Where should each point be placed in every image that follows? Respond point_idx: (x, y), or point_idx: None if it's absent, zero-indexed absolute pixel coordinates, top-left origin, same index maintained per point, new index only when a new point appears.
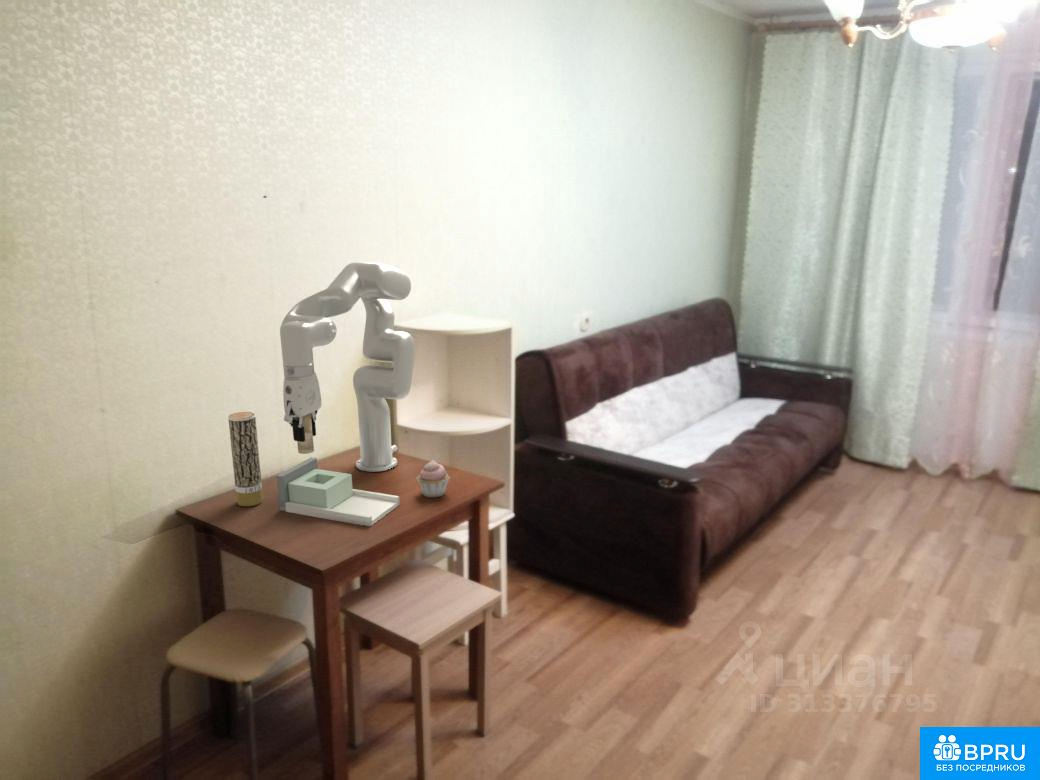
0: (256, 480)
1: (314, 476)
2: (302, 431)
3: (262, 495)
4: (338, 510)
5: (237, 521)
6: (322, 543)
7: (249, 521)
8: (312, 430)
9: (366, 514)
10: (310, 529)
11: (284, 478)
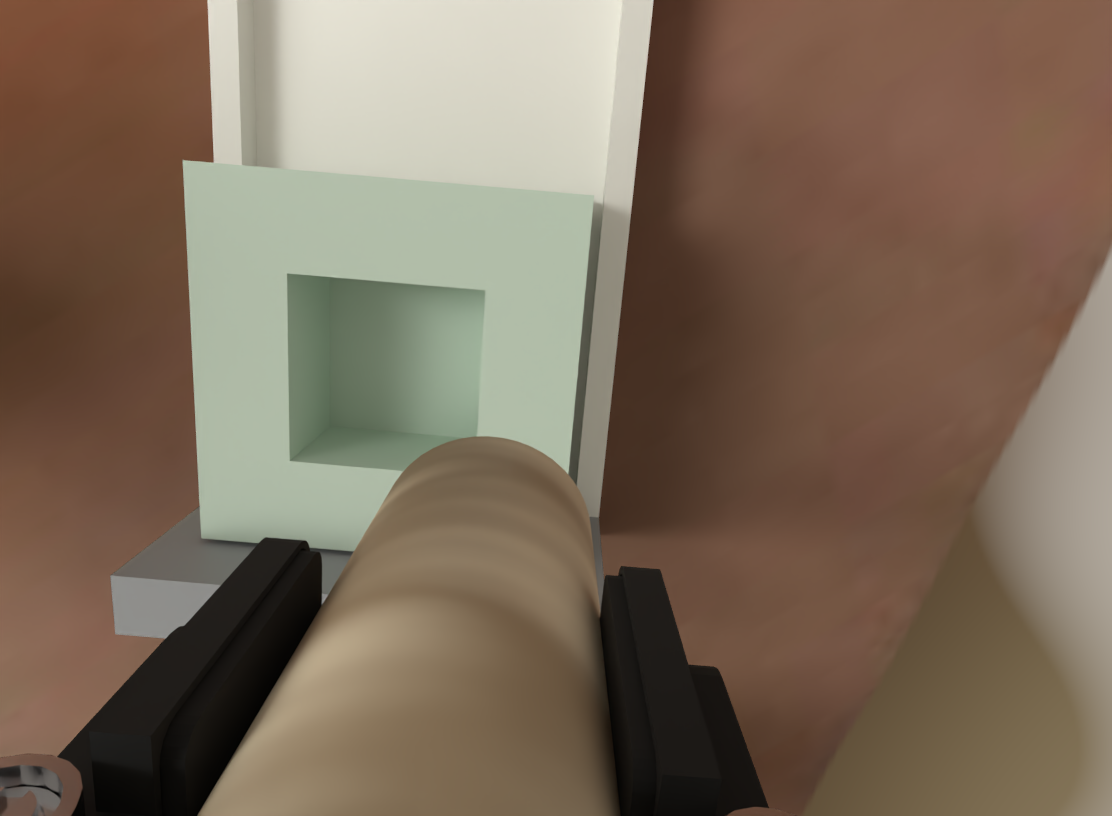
0: None
1: (336, 461)
2: (692, 708)
3: None
4: (616, 84)
5: (787, 669)
6: (992, 3)
7: (773, 611)
8: (281, 631)
9: None
10: (802, 204)
11: None
